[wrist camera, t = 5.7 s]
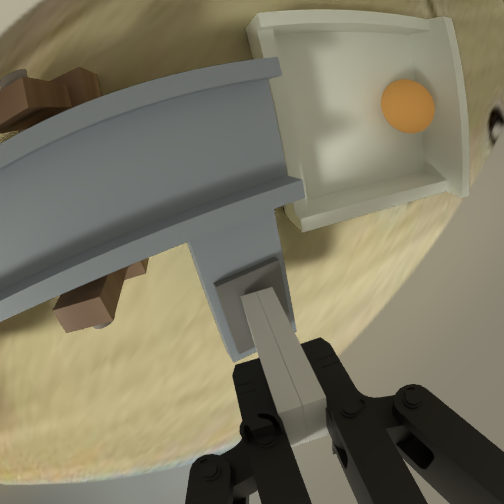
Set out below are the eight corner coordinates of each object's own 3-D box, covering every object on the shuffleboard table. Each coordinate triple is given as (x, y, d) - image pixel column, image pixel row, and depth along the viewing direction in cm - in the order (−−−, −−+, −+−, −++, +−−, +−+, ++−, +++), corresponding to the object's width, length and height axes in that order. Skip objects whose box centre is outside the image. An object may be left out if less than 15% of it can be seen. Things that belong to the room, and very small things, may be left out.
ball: (447, 133, 15) (408, 127, 18) (441, 79, 13) (401, 79, 16) (414, 140, 14) (373, 133, 17) (406, 78, 12) (365, 80, 15)
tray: (285, 214, 19) (313, 244, 15) (245, 28, 14) (265, 2, 10) (426, 178, 20) (469, 195, 16) (407, 26, 15) (451, 18, 11)
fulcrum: (16, 296, 17) (-27, 367, 10) (-43, 152, 12) (-116, 181, 5) (151, 252, 18) (138, 331, 11) (95, 71, 13) (38, 46, 6)
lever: (21, 426, 13) (18, 463, 10) (-107, 233, 6) (-136, 255, 4) (302, 315, 18) (330, 342, 16) (253, 66, 12) (288, 52, 9)
